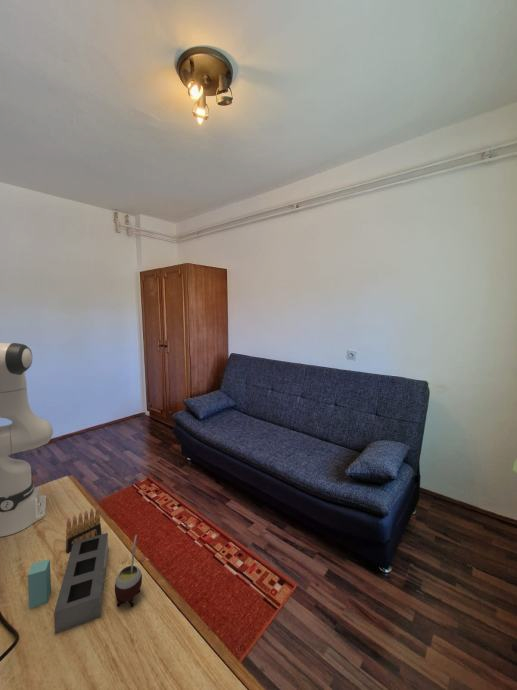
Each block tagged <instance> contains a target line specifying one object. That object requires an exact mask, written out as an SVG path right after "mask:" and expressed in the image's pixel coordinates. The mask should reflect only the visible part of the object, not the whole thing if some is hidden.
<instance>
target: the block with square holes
mask: <svg viewBox="0 0 517 690" xmlns="http://www.w3.org/2000/svg"><path fill="white" fill-rule="evenodd" d="M72 544H73V546H72V549H71V552H69V558H68V561H67V565H66V567H65V571H64V572H65V573H64V575H63V579H62V582H61V587H60V590H59V593H58V597H57V600H56V604H55V608H54V611H53V618H54V619H53V620H54V621H53V622H54V634H55V635H56V634H59V633H62V632H64V631H67V630H69V629H73V628H76V627H78V626H80V625H83V624H87V623H88V622H92V621H95V620H97V619H99V618H101V615H102V605H103V597H104V587H105V581H106V572H107V562H108V553H109V533H108V532H106V533H101V535H97V536H93V537H89V538H85V539H82V540H78V541H74V542H73V541H72Z"/></svg>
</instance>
